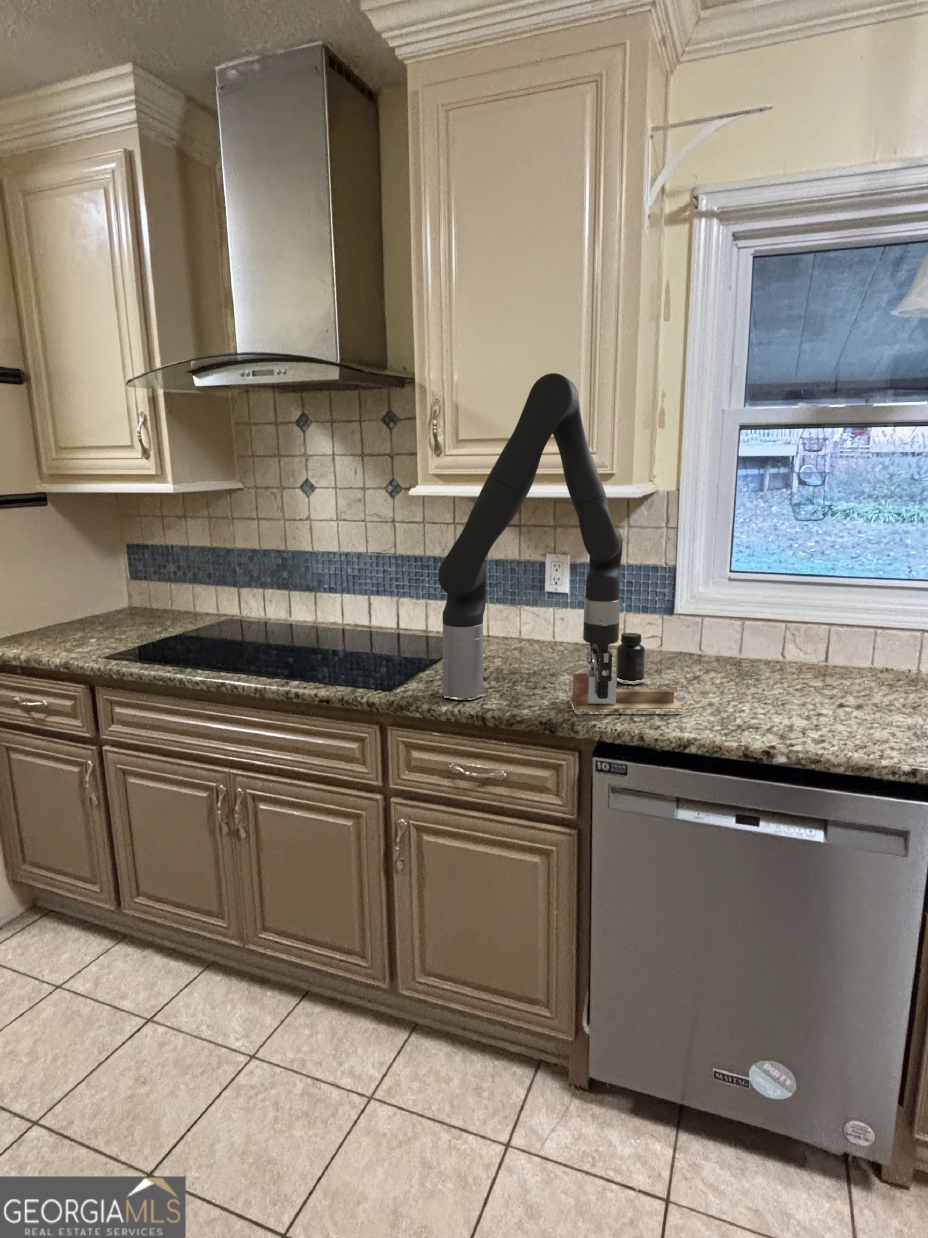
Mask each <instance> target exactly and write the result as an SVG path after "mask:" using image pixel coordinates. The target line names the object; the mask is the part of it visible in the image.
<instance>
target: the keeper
mask: <svg viewBox="0 0 928 1238" xmlns="http://www.w3.org/2000/svg"><path fill="white" fill-rule="evenodd" d="M584 674H585V675H586V677H587V679H588V681H589V690H588V704H616V689H617V683H618V682H617V676H616V673H615V672H614V671H613V670H612V680H611V681H609V682H608V698H607V699H599V698H598V697H597V673H596V672H595V671H594V670H590V669H584ZM602 676H606V672H602Z"/></svg>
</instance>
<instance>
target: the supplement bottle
mask: <svg viewBox="0 0 928 1238" xmlns="http://www.w3.org/2000/svg"><path fill="white" fill-rule="evenodd" d="M620 636H621V637H620V642H621V643H620V644H619V645H618V646H617V647H616V658H615V659H616V660H615V661H616V663H615V665H616V667H615V669H616V670H615V675H616V676H617V678H619V679H622V680H628V681H636V680H642V679H644V680H645V668H646V666H645V665H646V663H645V662H646V648H645V647H644V646H643V645H642V644H641V643H642V634H641V633H637V632H624V633H623V632H622V633H621V634H620Z"/></svg>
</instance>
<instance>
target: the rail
mask: <svg viewBox="0 0 928 1238" xmlns="http://www.w3.org/2000/svg"><path fill="white" fill-rule="evenodd" d="M588 690H589V681H588V679H587V677H586V675H585V672H584V673H573V674H572V694H570V695H569V694H568V695H569V696H568V697H570V700H571V702H572V704H573V706H574V709H575V710H595V709H596V710H615V709H616V710H617V709H618V710H619V709H623V710H624V709H669V710H670V709H676V710H677V709H681V710H683V711H684V707H683V706H682V705H681V704H680V703H679V702H678V700H677V699H676V698H675V691H674V689H673V688H628V689H627V688H616V704H588Z"/></svg>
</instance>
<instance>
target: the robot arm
mask: <svg viewBox="0 0 928 1238" xmlns="http://www.w3.org/2000/svg"><path fill="white" fill-rule="evenodd" d="M517 421H518V422H517V423H516V426H515V428H514V429H513V430H514V431H512V434H511V435H510V438H509V439H508V441H507V443H506V444H505V446H504V447H503V448H502V451H501V452H500V454H499V456H498V458H497V460H496V462H495V463H494V465H493V467H492V469H491V471H490V472H489V475H488V476H487V478H486V480H485V482H484V483H483V486H482V487H481V490H480V492H479V494H478V497H477V499H476V501H475V503H474V505H473V506H472V509H471V511H470V514H469V515H468V518H467V520H466V522H465V525H464V527H463V529H462V530H461V532H460V534H459V536H458V537H457V539H456V541H455V542H454V544H453V545H452V547H451V548H450V550H448V551H449V552H448V553H447V554H446V556H445V557H444V558H443V560H442V562H441V564H440V565H439V568H438V574H437V579H438V584H439V586H440V588H441V589H442V591H443V592H444V593H446V602H445V606H444V608H443V611H442V697H443V696H450V697H457V698H469V697H475V696H478V695H481V694H482V693H483V694H484V614H485V610H486V603H487V602H486V601H487V598H486V597H487V570H486V566H485V560H486V558H487V557H488V554H489V552H490V550H491V549H492V547H493V545H494V544H495V543H496V541H497V540H498V539H499V537H500V536H501V535H502V534H503V532H504V531H505V530H506V529H507V528H508V526H509V525H510V523H512V521H513V520H514V518H515V517H516V516H517V514H518V512H519V510H520V509H521V507H522V506H523V503H524V502H525V500H526V498H527V496H528V494H529V492H530V491H531V488H532V486H533V484H534V481H535V478H536V474H537V471H538V468H539V464H540V461H541V458H542V455H543V452H544V449H545V448H546V446H547V444H548V442H549V440H550V438H551V437H552V436H553V438H554V440H555V443H556V445H557V449H558V453H559V455H560V460H561V465H562V471H563V476H564V479H565V484H566V487H567V491H568V494H569V497H570V500H571V503H572V506H573V508H574V511H575V513H576V516H577V519H578V525H579V529H580V533H581V539H582V541H583V545H584V548H585V550H586V553H587V554H588V556H589V570H588V573H587V576H586V582H585V603H584V608H583V626H582V627H583V629H582V632H583V635H582V639H583V641H584V642H586V643H588V644H589V647H588V648H589V649H588V651H589V654H588V662H587V663H588V665H589V670H594V671H595V672H596V673H597V697H598V698H599V699H607V698H608V682H609V681H611V680H612V671H613V669H612V668H613V653H612V651H611V650H609V645H614V644H617V643H618V641H619V640H620V639H619V636H620V617H621V616H620V609H621V608H620V572H621V565H622V564H621V563H622V556H623V547H624V546H623V536H622V534H621V532H620V531H619V530H618V528H616V527H615V526H614V523H613V520H612V517H611V515H610V512H609V502H608V497H607V494H606V491H605V488H604V485H603V482H602V479H601V477H600V474H599V471H598V468H597V466H596V462H595V460H594V458H593V455H592V452H591V449H590V446H589V444H588V443H589V442H588V440H587V436H586V432H585V428H584V424H583V418H582V413H581V407H580V400H579V392H578V389H577V387H576V385H575V384H574V383H573V381H571V380H570V379H568V377H566V376H565V375H562V374H560V373H557V372H552V373H547V374H544V375H542V376H541V377H540V378H538V379H537V380H536V381H535V383H533V386H532V387H531V389H530V391H529V393H528V396H527V398H526V401H525V404H524V406H523V408H522V412H521V414H520V416H519V418H518V420H517ZM602 672H606V676H602Z"/></svg>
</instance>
